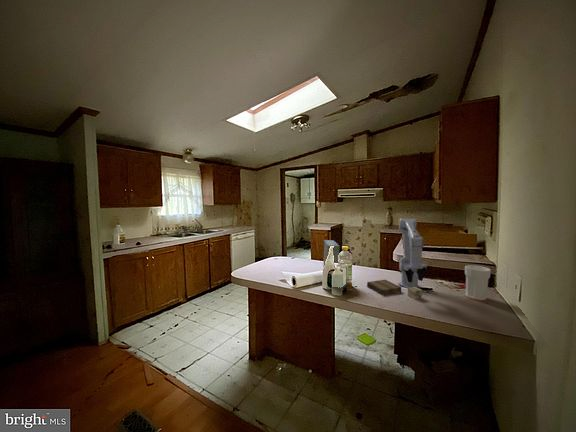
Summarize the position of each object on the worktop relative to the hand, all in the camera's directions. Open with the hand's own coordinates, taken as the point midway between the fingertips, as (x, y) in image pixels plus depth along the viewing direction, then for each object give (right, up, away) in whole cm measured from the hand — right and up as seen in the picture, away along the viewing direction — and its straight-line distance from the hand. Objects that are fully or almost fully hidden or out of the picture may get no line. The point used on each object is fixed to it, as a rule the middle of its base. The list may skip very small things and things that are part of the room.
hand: (415, 281), depth 133 cm
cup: (+34, -9, -1) cm, 35 cm away
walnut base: (-13, -9, +12) cm, 20 cm away
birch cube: (0, -10, +1) cm, 10 cm away
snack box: (-42, -7, +34) cm, 55 cm away
